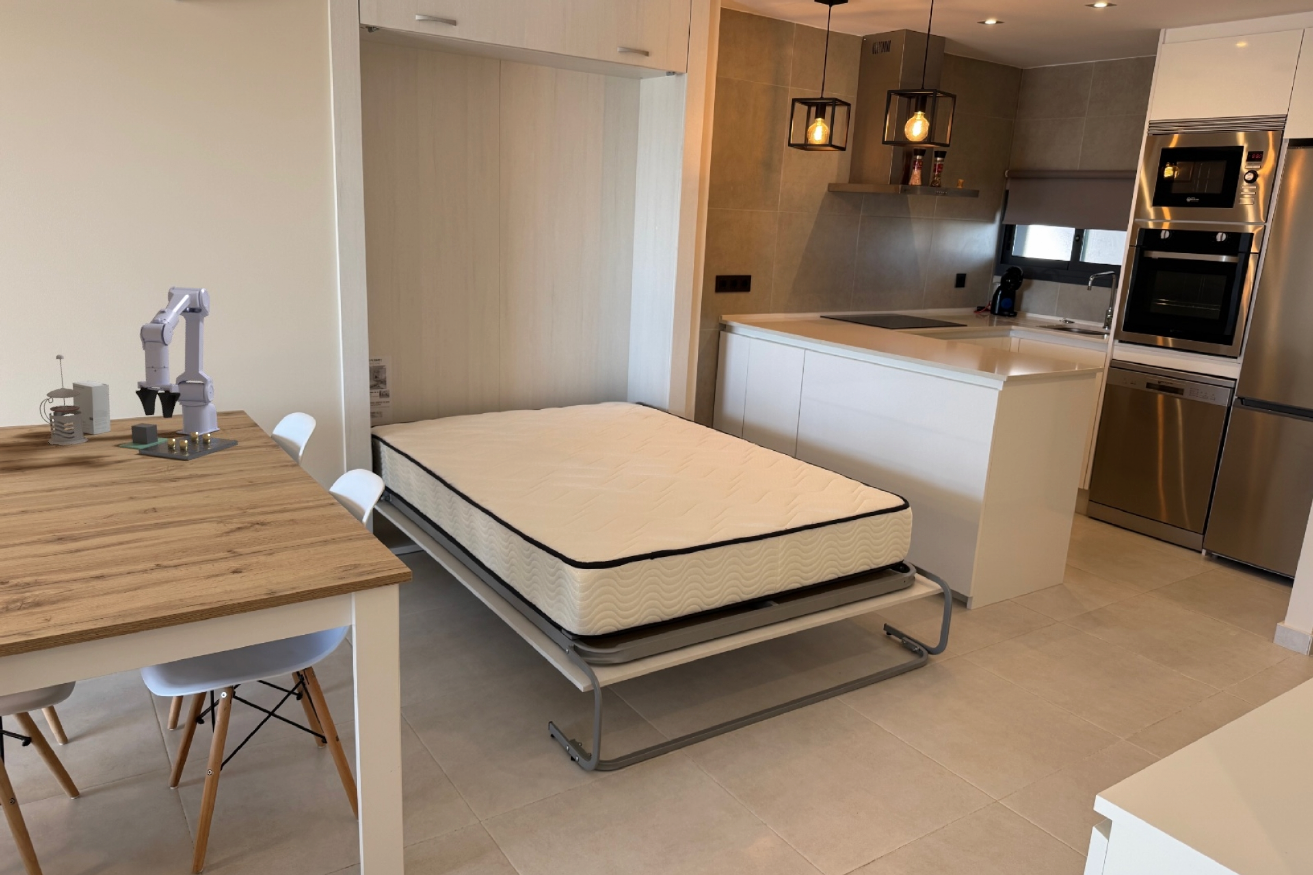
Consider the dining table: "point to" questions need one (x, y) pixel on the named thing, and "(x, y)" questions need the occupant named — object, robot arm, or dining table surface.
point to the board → (144, 436)
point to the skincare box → (93, 406)
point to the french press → (64, 417)
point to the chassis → (188, 446)
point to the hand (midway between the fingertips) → (158, 416)
